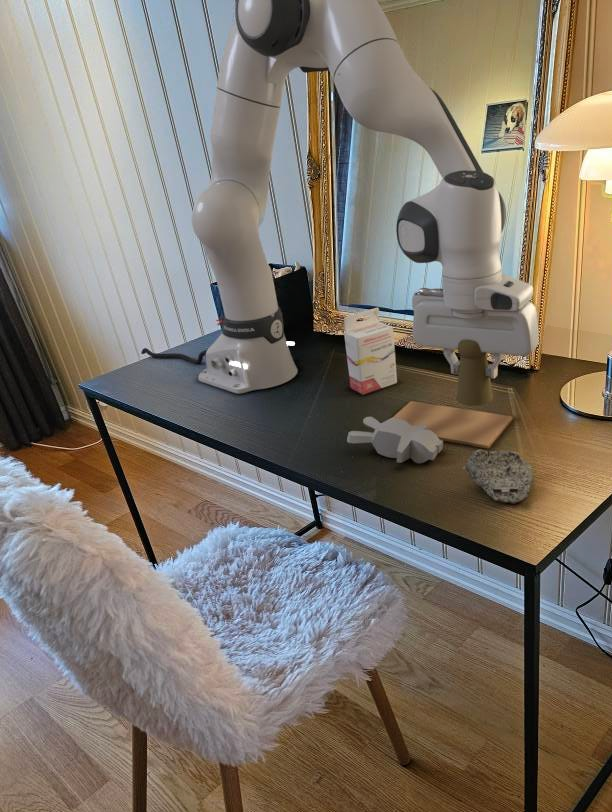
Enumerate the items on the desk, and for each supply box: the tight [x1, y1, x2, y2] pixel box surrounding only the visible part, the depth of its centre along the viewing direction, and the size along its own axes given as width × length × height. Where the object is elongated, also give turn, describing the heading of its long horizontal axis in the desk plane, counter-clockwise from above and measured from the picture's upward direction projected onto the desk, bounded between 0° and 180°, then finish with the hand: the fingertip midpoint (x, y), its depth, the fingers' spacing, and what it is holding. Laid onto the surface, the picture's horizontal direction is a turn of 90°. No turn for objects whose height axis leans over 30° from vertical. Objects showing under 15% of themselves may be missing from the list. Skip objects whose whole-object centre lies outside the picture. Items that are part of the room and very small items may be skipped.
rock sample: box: [462, 449, 536, 505], centre depth 94 cm, size 10×8×9 cm
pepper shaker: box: [456, 339, 494, 407], centre depth 106 cm, size 6×6×11 cm
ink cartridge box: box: [343, 307, 398, 395], centre depth 127 cm, size 9×5×15 cm, turn 122°
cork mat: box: [392, 400, 514, 450], centre depth 114 cm, size 20×11×1 cm, turn 59°
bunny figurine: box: [346, 416, 444, 464], centre depth 107 cm, size 10×5×15 cm
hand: (474, 374), depth 107 cm, fingers closed on pepper shaker, 4 cm apart
